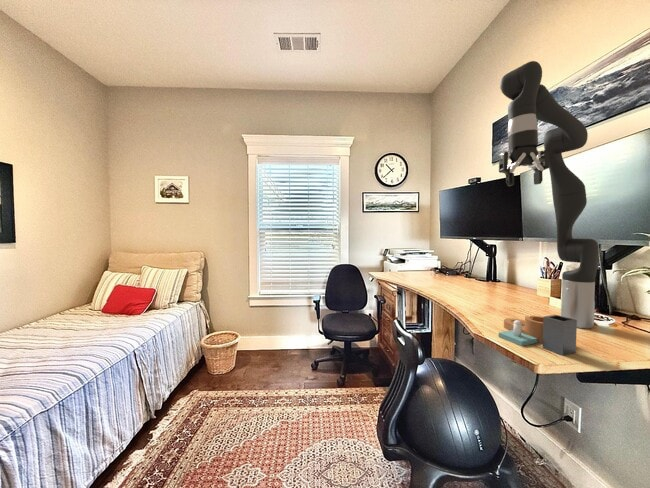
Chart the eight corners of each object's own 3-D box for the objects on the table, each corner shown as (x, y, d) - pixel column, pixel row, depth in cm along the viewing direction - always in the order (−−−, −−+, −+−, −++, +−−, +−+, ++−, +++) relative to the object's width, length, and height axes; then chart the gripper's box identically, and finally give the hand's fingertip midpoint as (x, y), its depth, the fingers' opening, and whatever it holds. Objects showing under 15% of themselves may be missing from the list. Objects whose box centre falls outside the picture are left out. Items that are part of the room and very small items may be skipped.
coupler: (554, 345, 87) (555, 314, 86) (575, 352, 82) (576, 320, 81) (542, 348, 85) (543, 316, 85) (562, 355, 80) (564, 322, 79)
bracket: (562, 344, 88) (563, 323, 88) (538, 345, 88) (539, 324, 87) (518, 324, 106) (518, 307, 106) (498, 325, 105) (498, 308, 105)
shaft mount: (513, 334, 96) (513, 315, 96) (537, 342, 89) (537, 323, 89) (498, 336, 94) (498, 318, 94) (521, 346, 87) (521, 325, 86)
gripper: (508, 129, 81) (510, 184, 82) (555, 126, 81) (557, 181, 82) (492, 138, 89) (494, 188, 89) (535, 135, 89) (537, 185, 90)
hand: (524, 184), depth 86 cm, fingers open, 8 cm apart
